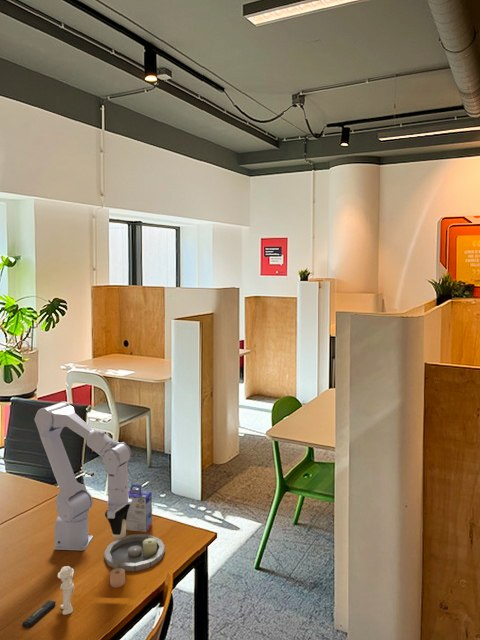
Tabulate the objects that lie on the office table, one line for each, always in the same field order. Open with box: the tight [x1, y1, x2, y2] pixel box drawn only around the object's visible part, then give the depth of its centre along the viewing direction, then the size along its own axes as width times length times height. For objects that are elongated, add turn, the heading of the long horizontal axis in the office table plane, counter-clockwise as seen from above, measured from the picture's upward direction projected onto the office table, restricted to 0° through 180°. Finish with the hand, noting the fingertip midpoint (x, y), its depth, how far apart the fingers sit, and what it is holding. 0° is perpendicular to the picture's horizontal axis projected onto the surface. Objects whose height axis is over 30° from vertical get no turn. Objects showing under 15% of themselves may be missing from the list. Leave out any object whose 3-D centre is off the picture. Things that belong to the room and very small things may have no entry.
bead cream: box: [111, 519, 127, 539], centre depth 156 cm, size 4×4×4 cm
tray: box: [103, 533, 166, 572], centre depth 156 cm, size 17×17×2 cm
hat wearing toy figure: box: [57, 565, 75, 616], centre depth 133 cm, size 9×4×12 cm, turn 27°
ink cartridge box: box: [126, 484, 153, 533], centre depth 172 cm, size 10×6×14 cm, turn 79°
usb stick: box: [21, 600, 56, 629], centre depth 131 cm, size 10×3×2 cm, turn 158°
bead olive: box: [143, 538, 157, 558], centre depth 156 cm, size 4×4×4 cm
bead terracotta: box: [109, 568, 126, 589], centre depth 142 cm, size 4×4×4 cm
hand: (119, 529), depth 156 cm, fingers closed on bead cream, 4 cm apart
